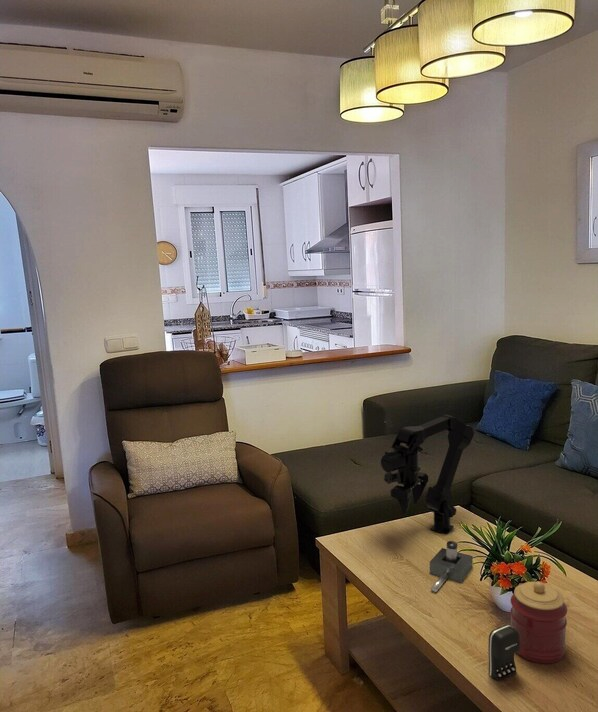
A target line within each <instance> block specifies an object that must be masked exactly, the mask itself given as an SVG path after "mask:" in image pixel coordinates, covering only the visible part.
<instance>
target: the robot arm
mask: <svg viewBox="0 0 598 712" xmlns="http://www.w3.org/2000/svg"><path fill="white" fill-rule="evenodd" d="M443 431H446V432H447V440H448V441H447V442H448V448H447V451H446V454H445V457H444V460H443V463H442V466H441V470H440V471H439V472H440V473H439V474H438V475H439V476H438V479H437V481H436V483H435V484H434V485H433V486H429V487H428V488H427V493H426V494H425V496H424V497H425V504H426V506H427V508H428V511H431V512H433V525H432V526H431V527H430V529H429V530H430V531H432V532H437V533H441V534H445V535H448V534H449V533H450V532H451V531H452V530H453V529H454V527H455V526H454V525H452V524H451V518H452V519H453V517H454V516H455V515H456V513H457V508H456V507H455V505H453V504H452V500H453V496H452V491H451V489H452V485H453V482H454V479H455V475H456V472H457V469H458V466H459V463H460V462H461V461H460V460H461V457H462V454H463V452H464V450H465V449H467V448H468V447H469V446H470V445H471V442H472V440H473V438H474V435H475V432H474V429H473V427H472V426H471V425H467V424H465V423H464V422H462V421H460V420H459V419H458V418H456V417H454V416H452V415H448V414H442V415H441V416H439V417H437V418H435V419H432V420H430V421H427V422H424V423H423V424H420V425H416V426H414V425H412V426H410V425H409V426H405V427H401V428H400V429H399V431H398V432H397V435H396V437H395V439H394V441H393V443H392V445H391V447H390V448H391V450H386V451H384V455H382V456H381V459H380V465H381V467H382V470H383V471H384V472H386V473H384V475H383V481H385V482H386V483H387V484H392V483H396V482H397V485H395V486H394V487H393V488H391V489H390V491H389V496H390V497H391V498H393V499H395V500H397V502H398V505H399V507H400V510H401V513H402V514H403V515H407V513H408V510H409V507H410V504H411V501H412V500H413V501H412V502H413V504H414V505H417V504H418V503H419V500H420V498H421V496H422V494H423V492H424V490H425V488H426V487H427V483H428V482H429V475H428V474H427V473H426V472H421V467H420V466H419V452H422V451H424V448H423V447H421V445H422V444H424V442H425V440H426V439H428V438H430V437H433V436H435V435H437V434H439V433H442V432H443Z"/></svg>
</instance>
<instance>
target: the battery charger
mask: <svg viewBox="0 0 598 712" xmlns="http://www.w3.org/2000/svg"><path fill="white" fill-rule="evenodd" d="M519 649H520V638H519V633H518V632H517V631H516V630H515V629H513V628H512V627H511V624H510V625H509V624H504V625H500V626H499V627H496V628H495V629H493V630H491V631H490V633H489V635H488V675H489V676H490V677H491V678H493V679H495V680H497V681H502V680H504V679H506V678H509V677H511V676H513V675H515V674H516V673H517V666H516V662H515V661H516V660H515V654H517V652H518V651H519Z"/></svg>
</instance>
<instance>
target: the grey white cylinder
mask: <svg viewBox="0 0 598 712" xmlns="http://www.w3.org/2000/svg"><path fill="white" fill-rule="evenodd" d="M445 549H446V562H450V563H453V564H456V563H457V552H458V543H457V542H456V541H452V540H449V541H447V542H446V548H445Z"/></svg>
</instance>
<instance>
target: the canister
mask: <svg viewBox="0 0 598 712" xmlns="http://www.w3.org/2000/svg"><path fill="white" fill-rule="evenodd" d="M510 604H511V606H512V607H511V608H510V626H511V627H512V628H513V629H515V630H516V631H517V632H518V633H519V638H520V649H519V651H518V652H516V654H517V655H519V656H520V657H522V658H524V659H525V660H528V661H531V662H532V663H538V664H544V665H545V664H554V663H557V662H559V661H560V660H562V659H563V658H564V656H565V654H566V650H567V642H566V635H567V633H566V632H567V625H568V621H567V617H566V616H567V614H568V606H567V604H566V603H565V598H564V596H563V594H562V593H561V592H560V591H559V590H557V589H556V588H554V587H553V586H552V585H549V584H547V583H545V582H542V581H538V580H537V581H528V582H527V581H526V582H524V583H520V584H519V585H517V586H516V587H515V588H514V591H513V594H512V595H511V597H510Z"/></svg>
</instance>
